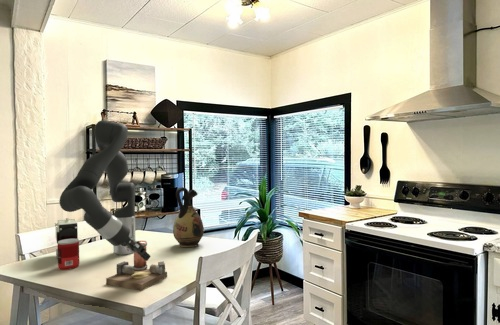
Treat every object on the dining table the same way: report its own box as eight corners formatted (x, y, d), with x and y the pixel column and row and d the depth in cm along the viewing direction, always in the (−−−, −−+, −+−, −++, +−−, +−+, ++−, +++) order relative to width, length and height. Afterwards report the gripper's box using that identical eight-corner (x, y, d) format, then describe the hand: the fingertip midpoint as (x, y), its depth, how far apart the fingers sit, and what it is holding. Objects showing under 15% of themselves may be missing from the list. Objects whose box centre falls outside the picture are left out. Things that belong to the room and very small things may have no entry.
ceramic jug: (191, 240, 188) (191, 185, 188) (210, 245, 177) (209, 186, 177) (164, 246, 176) (163, 187, 175) (182, 251, 165) (181, 189, 165)
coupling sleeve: (130, 270, 125) (129, 243, 125) (139, 266, 130) (139, 240, 130) (141, 272, 123) (140, 244, 123) (150, 268, 128) (150, 241, 128)
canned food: (83, 264, 147) (83, 239, 147) (68, 270, 139) (67, 243, 139) (69, 263, 149) (69, 237, 149) (53, 269, 142) (53, 242, 141)
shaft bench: (106, 284, 124) (105, 268, 124) (134, 271, 137) (134, 257, 137) (143, 290, 117) (143, 274, 117) (169, 277, 130) (169, 262, 130)
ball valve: (54, 253, 164) (54, 216, 164) (75, 251, 169) (74, 214, 169) (56, 263, 149) (55, 222, 149) (78, 260, 153) (77, 220, 153)
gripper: (129, 223, 116) (161, 252, 125) (110, 218, 126) (141, 245, 135) (114, 242, 112) (148, 270, 121) (96, 235, 122) (128, 262, 131)
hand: (144, 257), depth 128 cm, fingers closed on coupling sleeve, 4 cm apart
